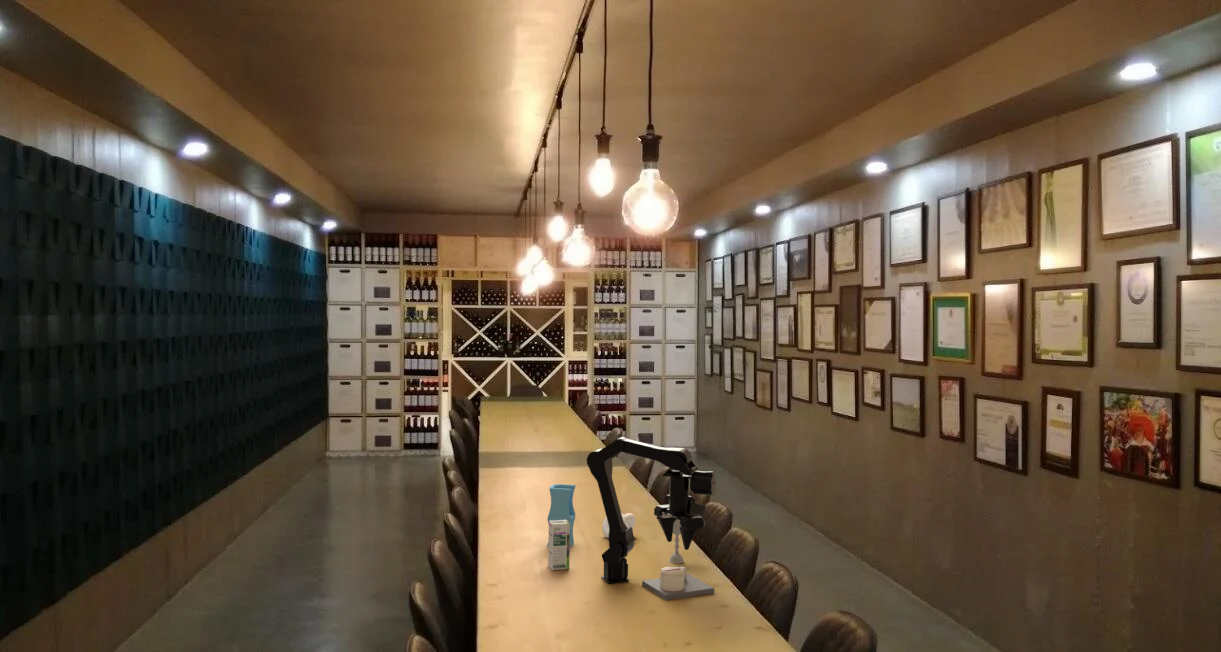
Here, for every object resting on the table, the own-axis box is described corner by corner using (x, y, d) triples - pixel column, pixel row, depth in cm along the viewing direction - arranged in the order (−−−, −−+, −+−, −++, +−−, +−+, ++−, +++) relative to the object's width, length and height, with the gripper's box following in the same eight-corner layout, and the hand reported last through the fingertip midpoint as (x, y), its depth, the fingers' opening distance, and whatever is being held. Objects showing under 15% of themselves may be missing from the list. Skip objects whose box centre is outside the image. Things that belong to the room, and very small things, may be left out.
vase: (569, 548, 284) (570, 489, 284) (547, 546, 286) (548, 488, 286) (574, 542, 292) (575, 485, 292) (553, 540, 294) (554, 483, 294)
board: (665, 600, 232) (665, 582, 232) (642, 585, 245) (642, 568, 245) (714, 593, 239) (714, 575, 239) (689, 579, 252) (689, 562, 252)
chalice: (669, 564, 266) (670, 508, 266) (662, 558, 273) (663, 504, 273) (690, 563, 268) (691, 507, 268) (683, 557, 275) (684, 503, 275)
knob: (667, 592, 235) (668, 573, 235) (656, 585, 241) (656, 567, 241) (688, 589, 238) (688, 571, 237) (676, 582, 243) (676, 565, 243)
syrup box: (551, 570, 258) (552, 524, 258) (547, 565, 264) (548, 519, 264) (569, 569, 260) (570, 523, 259) (565, 564, 265) (566, 518, 265)
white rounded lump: (595, 539, 297) (595, 514, 297) (610, 531, 307) (611, 507, 307) (623, 543, 291) (623, 518, 291) (638, 536, 302) (638, 511, 302)
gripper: (720, 496, 239) (719, 550, 239) (684, 484, 255) (683, 535, 256) (688, 499, 234) (686, 555, 234) (653, 487, 250) (652, 538, 250)
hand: (677, 545), depth 244 cm, fingers open, 9 cm apart
